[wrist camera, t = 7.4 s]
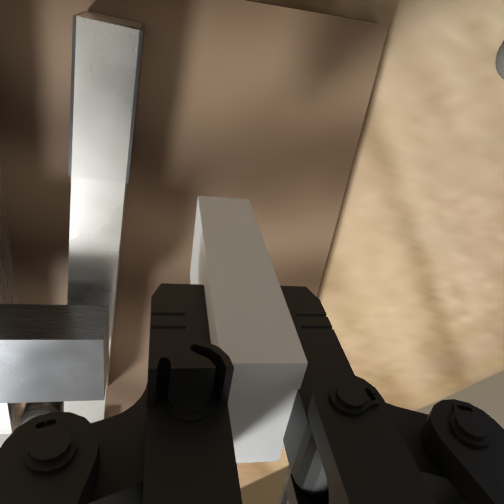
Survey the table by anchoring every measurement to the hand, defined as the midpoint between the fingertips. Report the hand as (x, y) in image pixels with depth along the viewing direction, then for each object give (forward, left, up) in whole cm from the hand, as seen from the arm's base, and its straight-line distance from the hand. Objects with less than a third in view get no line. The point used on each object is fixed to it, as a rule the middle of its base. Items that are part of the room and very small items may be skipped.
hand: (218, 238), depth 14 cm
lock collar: (+6, -7, -6) cm, 11 cm away
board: (+6, -2, -8) cm, 10 cm away
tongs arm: (+4, -5, -6) cm, 9 cm away
